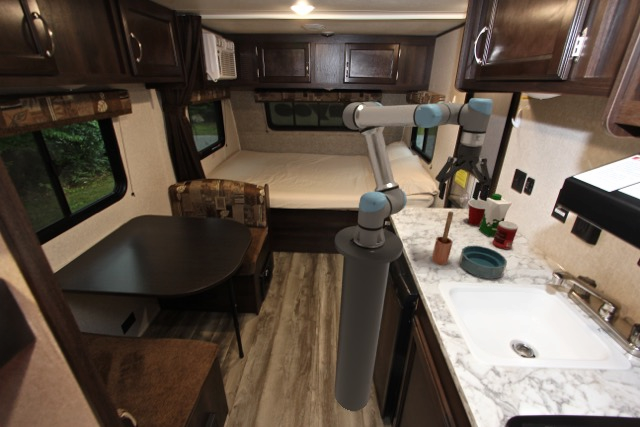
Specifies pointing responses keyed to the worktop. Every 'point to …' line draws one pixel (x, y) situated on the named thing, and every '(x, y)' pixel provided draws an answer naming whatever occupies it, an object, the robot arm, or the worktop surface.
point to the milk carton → (494, 214)
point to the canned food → (505, 234)
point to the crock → (441, 251)
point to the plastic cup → (476, 211)
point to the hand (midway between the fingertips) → (457, 198)
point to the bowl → (482, 261)
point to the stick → (447, 227)
